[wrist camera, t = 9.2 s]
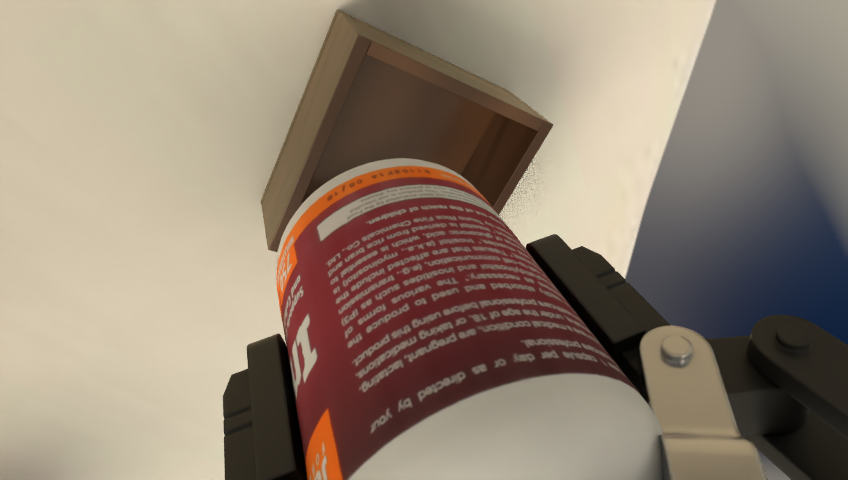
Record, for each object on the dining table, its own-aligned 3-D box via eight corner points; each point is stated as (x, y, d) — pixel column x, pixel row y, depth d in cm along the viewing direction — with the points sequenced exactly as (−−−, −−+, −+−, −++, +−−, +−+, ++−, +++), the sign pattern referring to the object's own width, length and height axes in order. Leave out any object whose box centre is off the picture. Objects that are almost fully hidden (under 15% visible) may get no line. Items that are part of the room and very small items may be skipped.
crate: (260, 201, 34) (267, 250, 30) (336, 8, 29) (358, 34, 25) (426, 245, 40) (452, 292, 36) (512, 92, 35) (553, 124, 31)
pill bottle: (227, 212, 13) (258, 878, 5) (457, 111, 14) (884, 545, 5) (328, 363, 17) (449, 876, 8) (505, 280, 17) (791, 689, 9)
